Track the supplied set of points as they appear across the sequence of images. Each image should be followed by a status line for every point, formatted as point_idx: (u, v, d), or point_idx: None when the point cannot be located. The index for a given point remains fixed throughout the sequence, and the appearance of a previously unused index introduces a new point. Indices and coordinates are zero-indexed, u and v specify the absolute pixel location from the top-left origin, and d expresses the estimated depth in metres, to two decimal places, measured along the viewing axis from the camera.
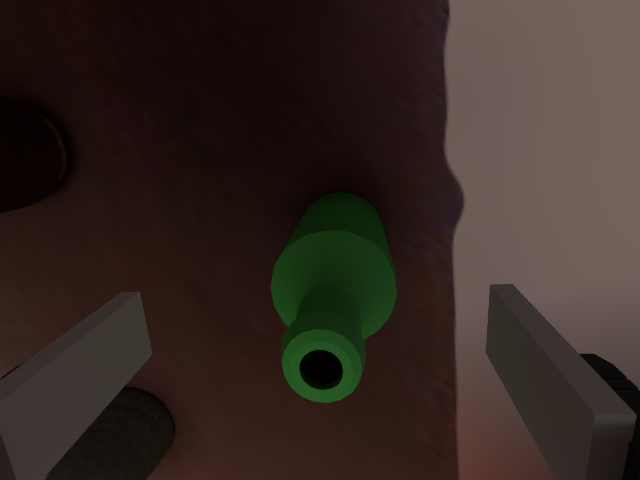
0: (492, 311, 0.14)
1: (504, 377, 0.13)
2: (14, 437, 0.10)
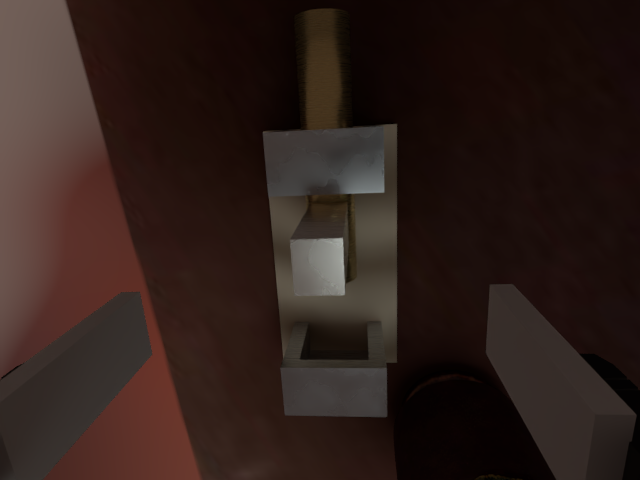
0: (492, 311, 0.14)
1: (504, 377, 0.13)
2: (14, 437, 0.10)
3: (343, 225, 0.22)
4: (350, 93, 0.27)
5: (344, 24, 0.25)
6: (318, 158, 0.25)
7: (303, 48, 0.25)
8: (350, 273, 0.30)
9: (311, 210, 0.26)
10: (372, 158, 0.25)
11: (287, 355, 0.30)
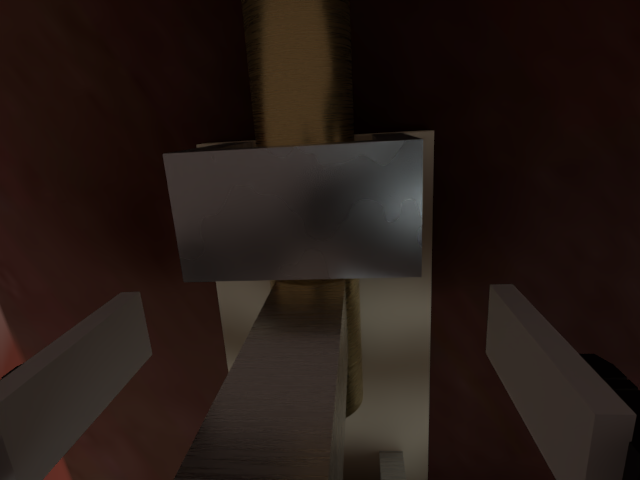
0: (492, 311, 0.14)
1: (504, 377, 0.13)
2: (14, 437, 0.10)
3: (332, 393, 0.09)
4: (349, 72, 0.14)
5: None
6: (282, 207, 0.12)
7: None
8: (351, 400, 0.16)
9: (271, 309, 0.13)
10: (398, 207, 0.12)
11: None
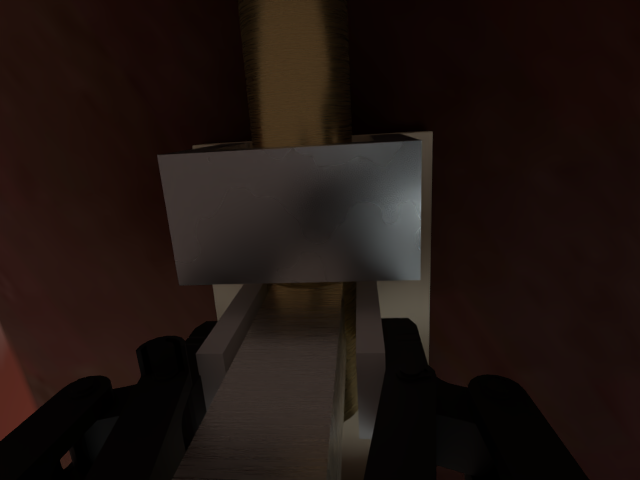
0: None
1: None
2: None
3: (330, 400, 0.09)
4: (347, 72, 0.13)
5: None
6: (278, 209, 0.12)
7: None
8: (349, 404, 0.16)
9: (268, 313, 0.13)
10: (396, 209, 0.11)
11: None
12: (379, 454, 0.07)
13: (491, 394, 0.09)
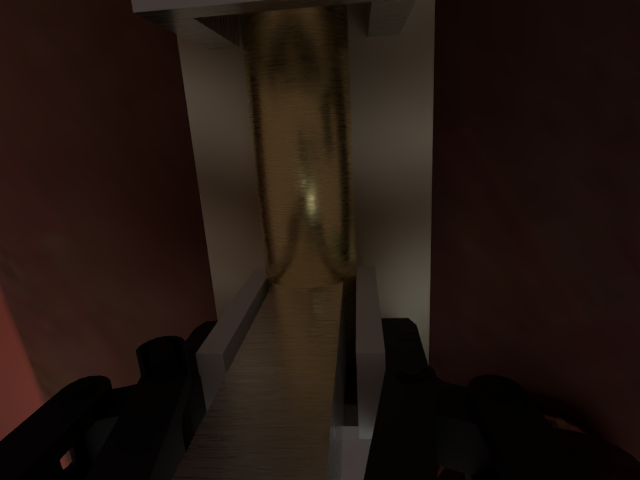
0: None
1: None
2: None
3: (330, 399, 0.09)
4: (347, 72, 0.13)
5: None
6: None
7: None
8: None
9: (268, 313, 0.13)
10: None
11: None
12: (379, 454, 0.07)
13: (491, 394, 0.09)
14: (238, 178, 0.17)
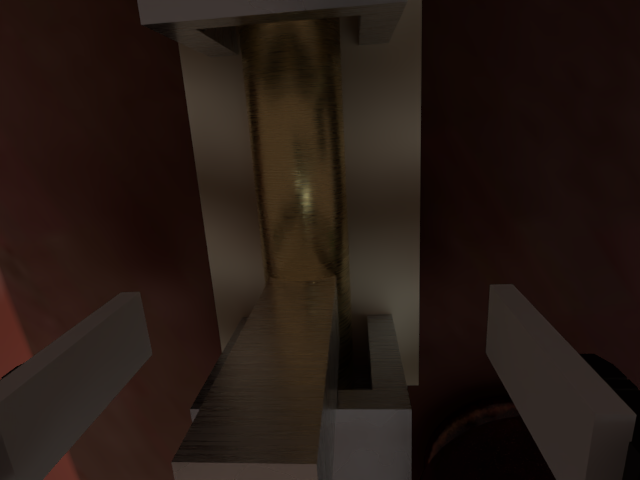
0: (492, 310, 0.14)
1: (504, 377, 0.13)
2: (14, 437, 0.10)
3: (323, 376, 0.09)
4: (339, 78, 0.14)
5: None
6: None
7: None
8: None
9: (265, 303, 0.13)
10: None
11: (211, 381, 0.15)
12: None
13: None
14: (236, 178, 0.18)
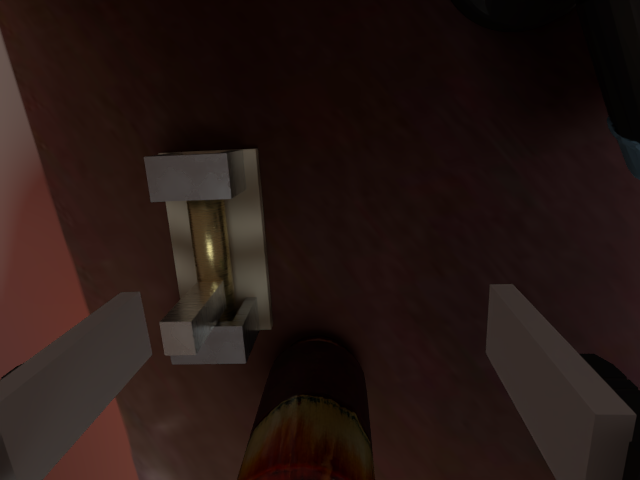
0: (492, 311, 0.14)
1: (504, 377, 0.13)
2: (14, 437, 0.10)
3: (201, 308, 0.34)
4: (221, 208, 0.40)
5: None
6: (183, 175, 0.36)
7: None
8: None
9: (192, 290, 0.39)
10: (221, 175, 0.35)
11: None
12: None
13: None
14: (188, 239, 0.43)
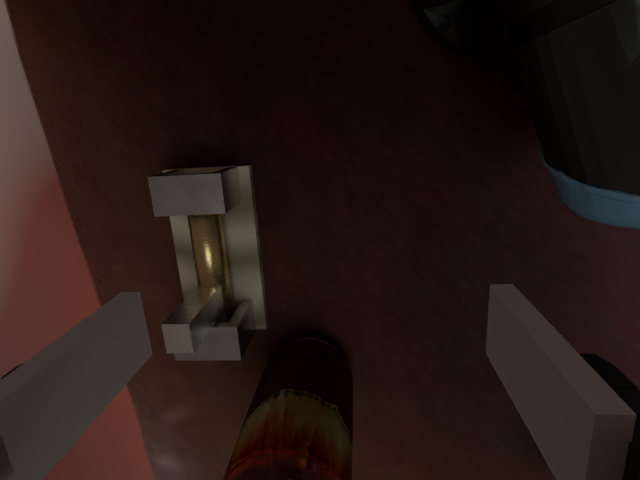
0: (492, 310, 0.14)
1: (504, 377, 0.13)
2: (14, 437, 0.10)
3: (198, 311, 0.39)
4: (218, 221, 0.44)
5: None
6: (183, 192, 0.40)
7: None
8: None
9: (193, 294, 0.43)
10: (216, 192, 0.40)
11: None
12: None
13: None
14: (189, 247, 0.48)
